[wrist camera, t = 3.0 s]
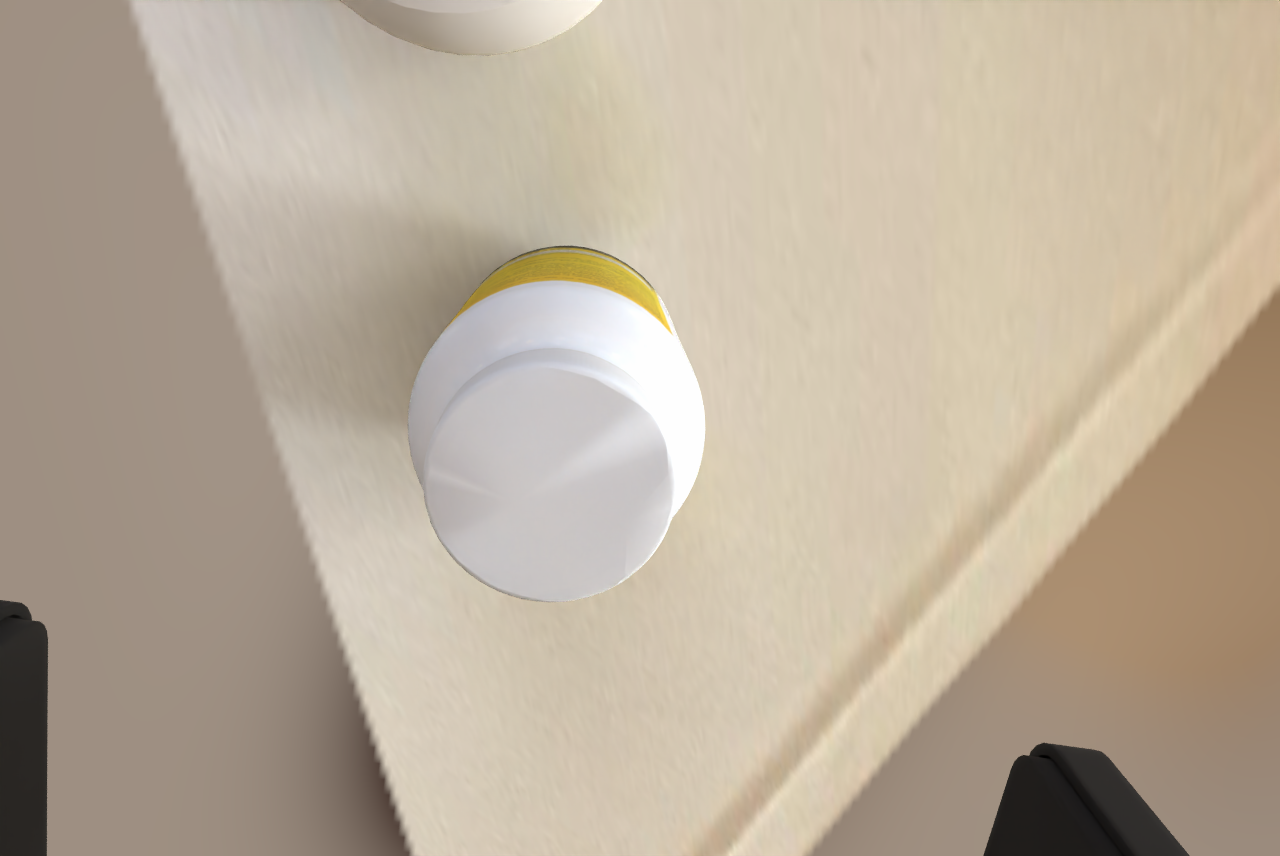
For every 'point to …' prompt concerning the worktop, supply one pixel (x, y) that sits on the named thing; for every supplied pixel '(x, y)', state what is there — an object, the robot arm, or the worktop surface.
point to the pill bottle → (556, 426)
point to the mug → (474, 22)
